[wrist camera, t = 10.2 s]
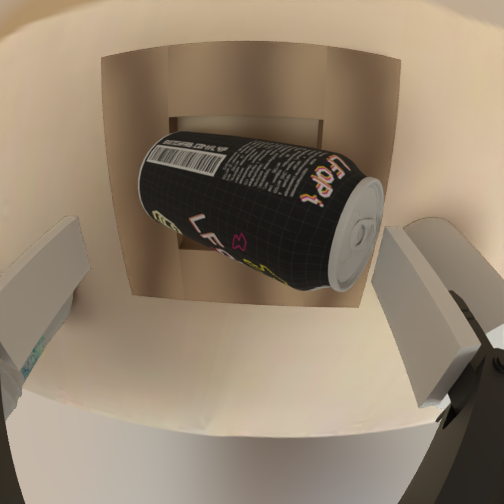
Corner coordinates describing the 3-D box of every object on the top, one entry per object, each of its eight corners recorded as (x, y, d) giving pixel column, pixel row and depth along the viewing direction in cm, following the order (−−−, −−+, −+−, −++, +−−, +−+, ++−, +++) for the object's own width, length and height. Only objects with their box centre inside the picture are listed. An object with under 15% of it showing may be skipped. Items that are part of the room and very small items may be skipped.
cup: (362, 283, 24) (402, 405, 14) (415, 200, 20) (504, 301, 10) (426, 308, 26) (473, 410, 15) (476, 240, 22) (552, 331, 11)
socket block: (142, 277, 25) (132, 295, 23) (118, 58, 16) (101, 57, 14) (352, 289, 25) (358, 307, 23) (387, 61, 16) (401, 59, 14)
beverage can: (201, 218, 21) (367, 286, 14) (127, 227, 17) (311, 329, 10) (213, 135, 19) (398, 170, 12) (137, 126, 15) (355, 152, 8)
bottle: (25, 252, 25) (-90, 394, 8) (73, 264, 25) (-45, 438, 8) (40, 302, 29) (-47, 438, 11) (85, 315, 29) (2, 475, 12)
